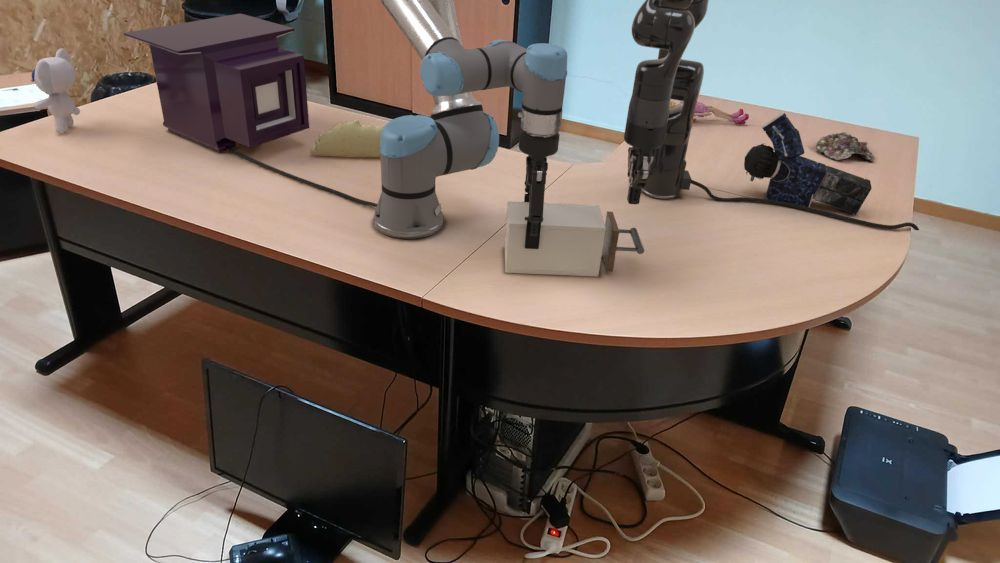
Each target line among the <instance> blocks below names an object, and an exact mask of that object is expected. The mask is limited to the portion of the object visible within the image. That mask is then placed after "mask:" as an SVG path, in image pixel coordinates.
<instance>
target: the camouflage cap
mask: <svg viewBox="0 0 1000 563" xmlns="http://www.w3.org/2000/svg"><path fill="white" fill-rule="evenodd" d="M815 150H816V151H817V152H818V153H824V155H825V156H827V157H828V158H830V159H832V160H835V161H839V160H840V161H841V160H844V159H848V158H851V157H852V155H853V154H854V155H857V154H859V155H860V156H861V158H863V159H865V160H866V161H871V162H874V160H875V159H874V158H875V155H874V154H873V153H872V152H871V151H870V149H869V147H868V142H867V141H859V139H858V137H855V136H853V135H852V134H851V133H849V132H848V131H846V132H844V131H843V132H836V133H830V134H827V135H826V136H822V137H820V138H819V140H818V141H817V142H816V144H815ZM873 157H874V158H873Z"/></svg>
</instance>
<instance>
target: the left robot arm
mask: <svg viewBox="0 0 1000 563" xmlns="http://www.w3.org/2000/svg"><path fill="white" fill-rule="evenodd" d="M379 1H380V2H381V4H382V5H383V7H384V8H385V10H386V11H387V12H388V15H390V17H391V18H392V20H393V21H394V23H395V25H397V26H398V28H399V29H400V31H401V32H402V34H403V35H404V37H405V38H406V39H407V41H408V42H409V43H410V45H411V46H412V48H413V49H414V51H415V53H417V55H418V56H419V58H420V59H421V63H420V68H419V74H420V79H421V81H422V82H423V83H422V84H423V88H424V90H425V91H426V92H427V93H428V94H429V95H431V96H432V97H433V98H432V99H433V103H434V107H433V109H432V110H431V112H430V116H427V115H423V114H417V115H413V114H409V115H402V116H399V117H396V118H392V119H390V120H389V121H388V122H386V123H385V124H384V126H382V127H383V129H382V131H381V137H380V147H379V149H380V157H379V158H380V182H381V190H380V191H381V192H380V195H379V197H378V201H377V203H375V202H373V201H368V200H364V199H360V198H358V197H354V196H352V195H349V194H346V193H345V192H341V191H339V190H336V189H333V188H330V187H327V186H325V185H322V184H319V183H316V182H313V181H311V180H308V179H305V178H302V177H299V176H297V175H294V174H291V173H289V172H286V171H283V170H281V169H278V168H277V167H273V166H271V165H269V164H267V163H264V162H261V161H260V160H257V159H255V158H253V157H250V156H248V155H246V154H244V153H242V152H240V151H237V150H236V149H234V148H232V149H231V148H229V147H227V148H226V149H227V150H226V151H228V152H230V153H233V154H234V155H237V156H239V157H240V158H243V159H245V160H248V161H250V162H252V163H254V164H256V165H259V166H260V167H262V168H265V169H268V170H270V171H273V172H274V173H277V174H280V175H282V176H284V177H287V178H290V179H293V180H296V181H297V182H301V183H304V184H306V185H308V186H311V187H314V188H318V189H319V190H322V191H326V192H329V193H330V194H335V195H337V196H340V197H342V198H345V199H348V200H350V201H353V202H355V203H358V204H362V205H365V206H370V207H374V208H375V210H374V213H373V225H374V228H375V229H376V230H377V231H378V232H380V233H381V234H383V235H385V236H388V237H392V238H395V239H403V240H414V239H422V238H426V237H430V236H432V235H434V234H436V233H438V232H439V231H440V230H441V229H442V227H443V226H444V214H443V211H442V209H443V207H442V203H440V201H439V198H438V195H437V193H436V178H438V177H442V176H447V175H451V174H455V173H460V172H465V171H472V170H473V171H474V170H476V169H478V168H481V167H484V166H487V165H489V164H491V163H492V162H493V160H494V159H495V158H496V155H497V153H498V150H499V146H500V145H499V144H500V132H499V127H498V124H497V121H496V120H495V119H494V117H493V115H491V114H490V113H488V112H485V111H484V108H483V104H482V102H480V101H478V100H477V99H476V98H475V97H474V94H473V92H478V91H479V92H480V91H487V90H493V89H500V88H507V87H509V88H511V89H514V90H516V91H518V92H521V93H522V100H521V111H520V112H518V113H517V117H518V118H519V119H520V131H519V136H518V137H519V138H518V149H519V151H521V152H522V153H523V154H524V155H527V156H526V158H525V165H526V166H525V167H526V168H525V179H524V180H525V181H524V192H525V193H524V198H523V202H529V216H528V217H525V220H527V227H526V238H525V249H539V240H540V230H541V222H543V207H544V203H545V191H546V183H547V176H548V173H547V172H548V171H549V170H548V169H549V162H548V157H551V156H554V155H555V154H557V153H558V151H559V143H560V133H559V132H561V127H562V118H563V112H564V111H563V110H564V109H563V107H564V106H563V105H564V97H565V89H566V80H567V75H568V52H567V50H566V49H565V48H564V47H562V46H560V45H557V44H552V43H545V42H538V43H533V44H530V45H529V46H528V47H527V48H526V47H524V46H522V45H520V44H517V43H516V42H513V41H510V40H505V39H495V40H492V41H491V42H490V43H488V44H486V46H485V47H477V48H468V49H466V48H464V46H463V40H462V36H461V31H460V27H459V26H460V25H459V21H458V16H457V12H456V7H455V3H454V0H379Z"/></svg>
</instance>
